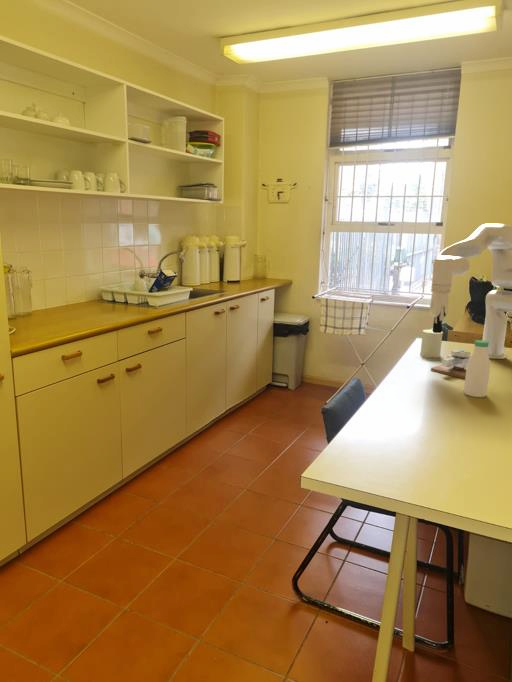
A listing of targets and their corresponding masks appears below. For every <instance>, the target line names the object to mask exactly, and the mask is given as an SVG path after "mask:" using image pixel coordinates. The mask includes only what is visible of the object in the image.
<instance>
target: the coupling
mask: <svg viewBox="0 0 512 682" xmlns="http://www.w3.org/2000/svg"><path fill="white" fill-rule="evenodd" d="M450 352H451V353H450V354H447V356H446V357H447V358H443V359H442V364H441V365H442V366H445V367H449V366H457V367H461V368H464V367H467V363H468V360H469V358H470V356H471V352H470V351H468V350H464V349H452V350H451V351H450ZM454 356H455V357H454ZM458 357H461V358H458ZM462 358H463V359H462Z"/></svg>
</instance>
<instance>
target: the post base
mask: <svg viewBox="0 0 512 682" xmlns="http://www.w3.org/2000/svg"><path fill="white" fill-rule="evenodd" d="M454 357H455V356H454ZM458 358H461V357H458ZM462 359H463V358H462ZM466 369H467V367H464V368H461V367H457V366H449V367H445V366H442V364H439V365H436V366H435V365H434V366H433V367H431V368H430V371H431V372H436V373H439V374H443V375H447V376H451V377H454V378H458V379H462V380H465V377H466Z"/></svg>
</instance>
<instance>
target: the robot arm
mask: <svg viewBox="0 0 512 682" xmlns="http://www.w3.org/2000/svg"><path fill="white" fill-rule="evenodd" d="M486 248H487V249H488V250H489V252H490V254H491V258H492V260H491V262H492V263H491V274H490V283H491V285H492V286H493V287H495V288H499V289H492V290H490V291H488V293H487V294H486V295H485V319H484V326H483V334H482V340H483V341H487V342H489V345H488V348H487V353H488V357H489V359H492V360H493V359H494V360H501V359H502V360H504V359H506V358H507V354H505V353H504V350H506V346H505V339H506V333H507V328H508V327H507V326H508V318H507V315H506V313H511V314H512V291H510V290H512V225H510V224H506V223H484V224H481V225H480V226H479V227H477V228H476V229H475V230H474V231H473V232H472V233H471V234H470V235H469V236H468V237H467V238H466V239H464V240H461V241H459V242H456V243H454V244H452V245H450V246H446V248H444V249H442V250H441V252H439V253H438V254H437V256H436V257H435V258H434V260H433V263H432V278H431V279H432V280H431V289H430V292H431V298H430V305H429V314H430V315H431V316H433V323H432V324H433V326H432V330H433V332H434V333H441V332H443V321H444V320H445V319H444V318H446V317H447V315H448V309H449V294H451V293H452V283H453V276H463V275H465V274H467V273H468V271H469V270H470V267H471V265H470V261H469V259H470V258H475V257H478V256H480V255H481V254H482V253H483V252H484V251H485V250H486ZM500 288H501V289H502V290H501V289H500ZM504 289H508V290H504ZM509 289H510V290H509ZM505 312H506V313H505Z"/></svg>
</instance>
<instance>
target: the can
mask: <svg viewBox="0 0 512 682" xmlns="http://www.w3.org/2000/svg"><path fill="white" fill-rule="evenodd" d="M443 334H444V331H442V332H441V333H434V332H433V329H423V330H422V336H421V345H420V353H419V354H420V356H422V357H425V358H426V357H427V358H440V357H441V350H442V349H441V348H442V342H443V341H442V340H443Z"/></svg>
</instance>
